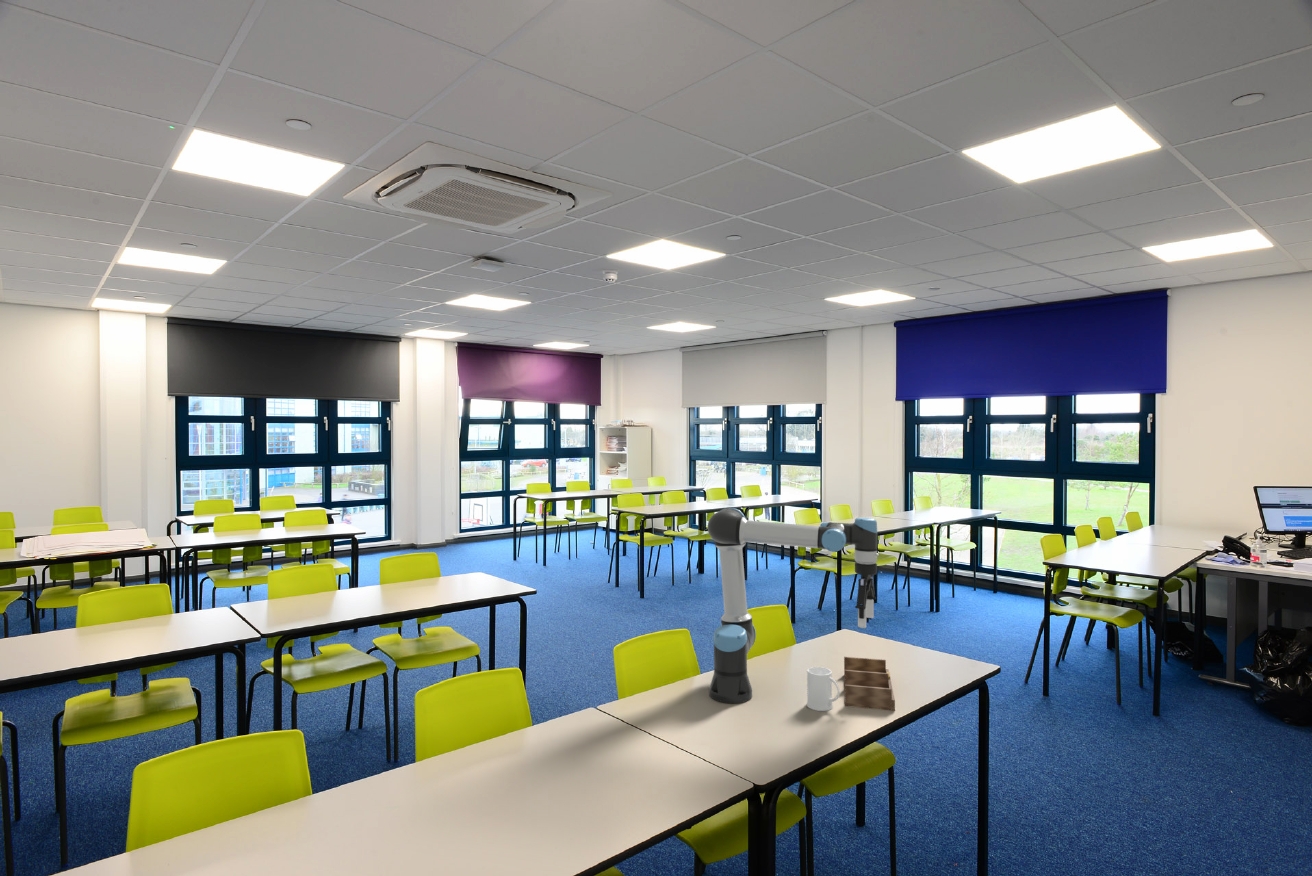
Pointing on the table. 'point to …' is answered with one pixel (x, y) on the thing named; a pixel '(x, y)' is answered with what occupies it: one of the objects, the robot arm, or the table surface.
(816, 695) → the mug
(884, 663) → the rack
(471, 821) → the table surface
